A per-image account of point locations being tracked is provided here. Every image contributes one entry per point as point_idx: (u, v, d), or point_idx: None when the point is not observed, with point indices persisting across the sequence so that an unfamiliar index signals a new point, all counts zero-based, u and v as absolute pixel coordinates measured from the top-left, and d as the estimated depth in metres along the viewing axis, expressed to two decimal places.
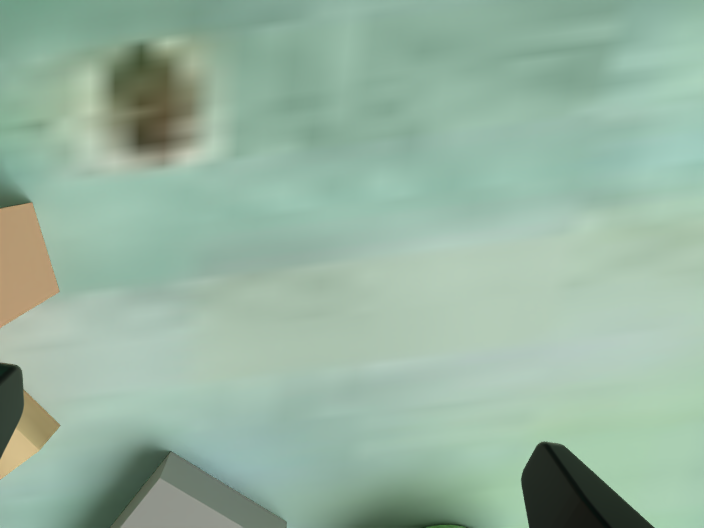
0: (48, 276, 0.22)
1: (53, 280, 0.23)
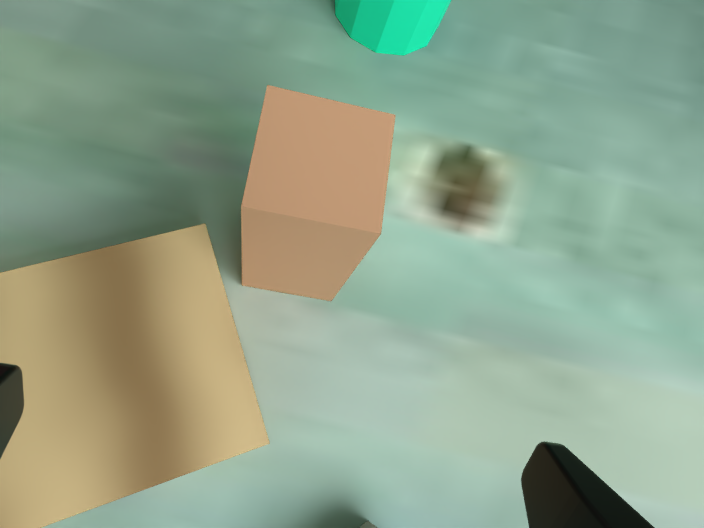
0: None
1: None
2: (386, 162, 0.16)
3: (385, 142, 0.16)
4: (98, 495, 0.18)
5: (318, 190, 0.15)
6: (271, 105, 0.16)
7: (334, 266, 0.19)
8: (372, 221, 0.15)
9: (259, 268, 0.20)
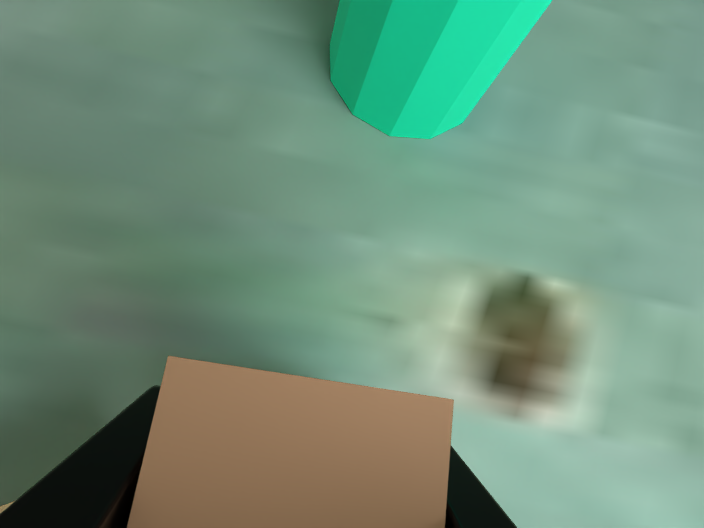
0: None
1: None
2: None
3: (434, 474, 0.07)
4: None
5: None
6: (175, 409, 0.07)
7: None
8: None
9: None
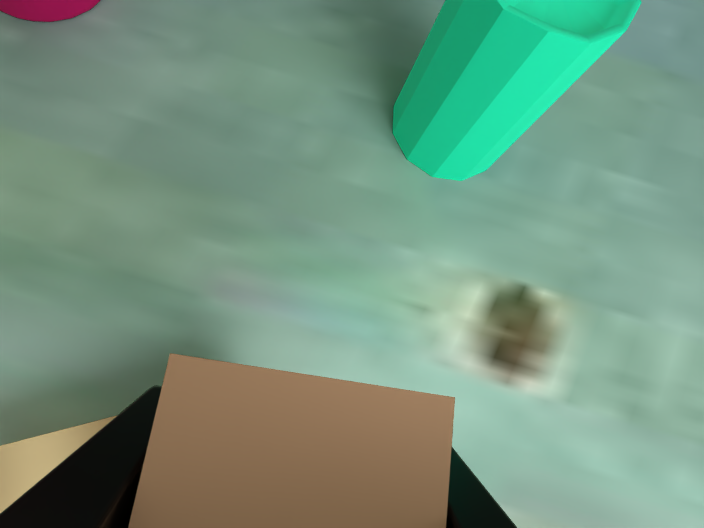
0: None
1: None
2: (439, 527, 0.07)
3: (435, 472, 0.07)
4: None
5: None
6: (177, 406, 0.07)
7: None
8: None
9: None
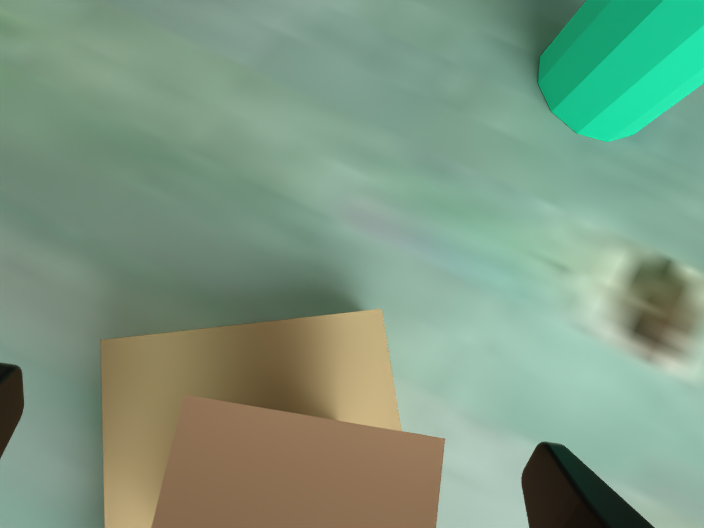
0: None
1: None
2: None
3: (424, 508, 0.08)
4: None
5: None
6: (190, 444, 0.07)
7: None
8: None
9: None
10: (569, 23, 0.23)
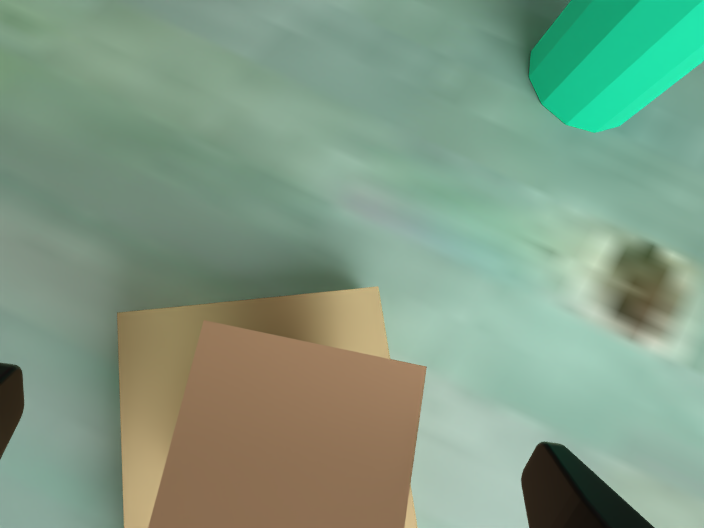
0: None
1: None
2: (407, 465, 0.09)
3: (407, 423, 0.09)
4: None
5: None
6: (208, 361, 0.09)
7: None
8: None
9: None
10: (558, 19, 0.24)
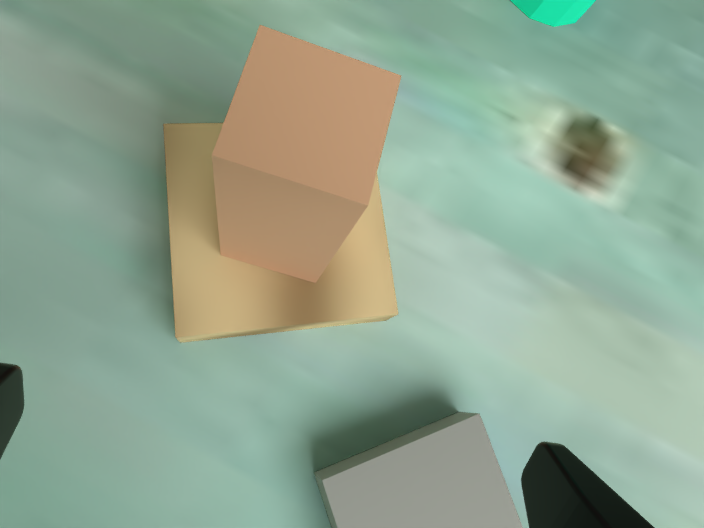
0: None
1: None
2: (384, 126, 0.14)
3: (386, 104, 0.14)
4: (256, 320, 0.21)
5: (303, 148, 0.13)
6: (261, 47, 0.14)
7: (317, 242, 0.17)
8: (360, 190, 0.13)
9: (237, 236, 0.18)
10: None
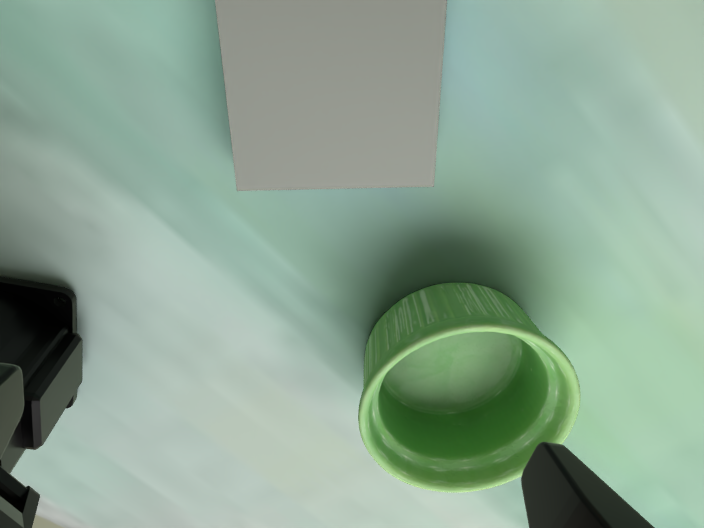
0: None
1: None
2: None
3: None
4: None
5: None
6: None
7: None
8: None
9: None
10: None
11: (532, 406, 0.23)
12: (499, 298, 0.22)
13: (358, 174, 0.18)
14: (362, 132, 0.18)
